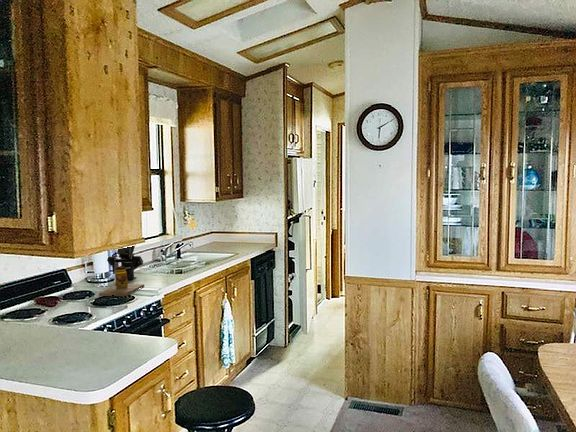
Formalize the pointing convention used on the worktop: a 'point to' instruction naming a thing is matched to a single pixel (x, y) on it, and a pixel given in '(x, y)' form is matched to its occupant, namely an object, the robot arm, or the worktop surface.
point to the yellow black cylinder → (121, 278)
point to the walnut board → (121, 292)
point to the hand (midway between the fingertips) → (121, 273)
